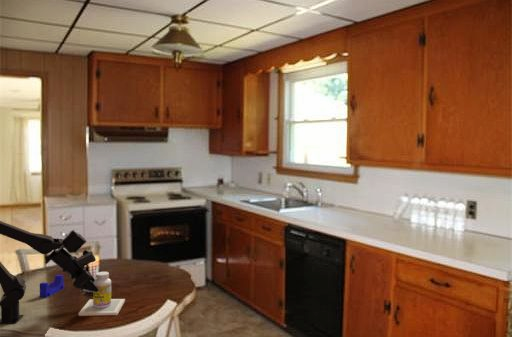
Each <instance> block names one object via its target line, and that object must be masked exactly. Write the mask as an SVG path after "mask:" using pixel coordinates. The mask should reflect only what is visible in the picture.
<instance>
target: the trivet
mask: <svg viewBox="0 0 512 337" xmlns="http://www.w3.org/2000/svg"><path fill="white" fill-rule="evenodd" d="M125 302H126V298H111V305H110V306H108V307H105V308H96V307H94V306H93V299H92V298H91V299H88V301H87V302H86V304H85V305H84V306H83V307H82V308H81V309H80V311H79V312H78V316H79V317H83V316H84V317H85V316H86V317H87V316H118V314H119V312H120V311H121V309H122V308H123V306H124V304H125Z"/></svg>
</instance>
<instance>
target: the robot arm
mask: <svg viewBox="0 0 512 337" xmlns="http://www.w3.org/2000/svg"><path fill="white" fill-rule="evenodd" d="M0 235H2V236H3V237H6V238H9V239H13V240H15V241H18V242H21V243H23V244H26V245H27V246H29V247H30V248H31V249H33V250H34V251H36V252H38V253H39V254H41V255H45V256H44V260H45V262H44V263H45V264H46V265H47V264H49V263H50V261H52V262H53V263H54V264H55V265H56V266H58V267H59V268H60V269H61V272H62V273H66V274H68V275H69V277H70V279H72V286H73V287H74V288H75V289H77V290H78V289H79V290H80V289H81V290H86V291H90V292H93V291H94V292H97V291H98V288H97V287H96V286H95V285H94V281H95V280H96V279H95V277H94V276H93V275H92V274H91V272H90V267H89V266H90V265H89V264H91V263H94V262H95V261H96V260H97V259H96V257H95V254H94V253H93V251H92V250H90V251H89V250H88V249H85V250H83V251H82V255H80V256H79V257H77V256H75V255H72V253H77V252H78V251H79V250H80V249H81V248H82V247H83V246H84V245H85V244H86V243H87V242H88V241H87V240H86V239H85V237H84V236H83V235H81V234H80V233H78V232H77V231H75V230H73V229H72V230H71V231H70V232H69V233H68V234H67V236H65V237H64V238H55V237H54V238H53V237H52V236H51V235H49V234H48V235H46V234H43V233H34V232H29V231H28V230H26V229H22V228H20V227H17V226H15V225H12V224H9V223H7V222H5V221H1V220H0ZM0 287H1V289H2V293H3V294H2V296H1V299H0V312H1V313H0V316H1V317H0V324H16V323H17V322H19V321H20V320H21V319H22V318H23V317H24V314H20V300H22V299H23V298H24V296H25V293H26V290H27V284H26V280H24V279H23V278H22V276H21V275H20V274H19V273H18V274H16V275H15V274H12V273H10V271H9V270H8V269H7V268H6V266H4V264H3V262H1V261H0Z"/></svg>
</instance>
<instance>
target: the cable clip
mask: <svg viewBox="0 0 512 337" xmlns="http://www.w3.org/2000/svg"><path fill="white" fill-rule="evenodd" d="M64 287H65V286H64V275H63V274H56V275H55V276H54V280H53V281H52V282H50V283H49V282H40V283H39V298H42V299H43V298H45V299H47V298H49V297H51V296H52V295H54V294H56V293H57V292H59V291H61V290H63V289H64Z"/></svg>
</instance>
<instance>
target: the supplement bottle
mask: <svg viewBox="0 0 512 337" xmlns="http://www.w3.org/2000/svg"><path fill="white" fill-rule="evenodd" d="M109 276H110V273H109V271H98V272H97V273H95V278H96V279H95V281H94V285H95V286H96V287H97V288H98V291H97V292H94V291H92V294H93V296H92V298H93V306H94V307H96V308H105V307H108V306H110V305H111V299H112V280H111V279H110V278H109Z"/></svg>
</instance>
